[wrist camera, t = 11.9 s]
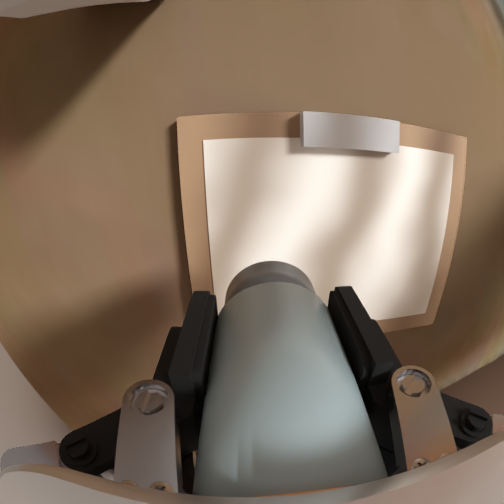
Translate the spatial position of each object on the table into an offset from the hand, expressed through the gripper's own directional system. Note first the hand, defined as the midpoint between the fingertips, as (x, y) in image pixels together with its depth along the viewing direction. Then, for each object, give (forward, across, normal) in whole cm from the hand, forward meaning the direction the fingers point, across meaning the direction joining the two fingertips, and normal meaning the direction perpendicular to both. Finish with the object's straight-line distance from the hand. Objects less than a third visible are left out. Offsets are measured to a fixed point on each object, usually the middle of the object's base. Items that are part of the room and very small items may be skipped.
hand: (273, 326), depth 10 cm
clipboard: (+9, -5, 0) cm, 11 cm away
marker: (+2, 0, 0) cm, 2 cm away
